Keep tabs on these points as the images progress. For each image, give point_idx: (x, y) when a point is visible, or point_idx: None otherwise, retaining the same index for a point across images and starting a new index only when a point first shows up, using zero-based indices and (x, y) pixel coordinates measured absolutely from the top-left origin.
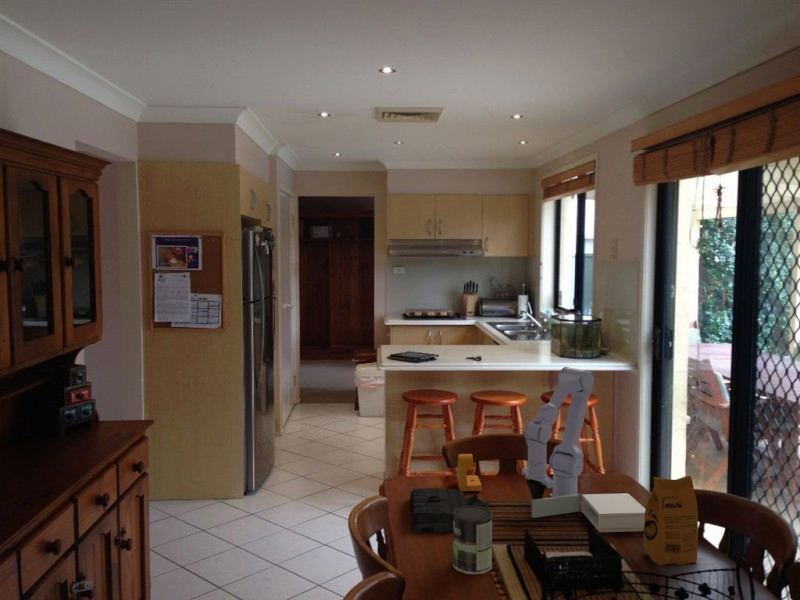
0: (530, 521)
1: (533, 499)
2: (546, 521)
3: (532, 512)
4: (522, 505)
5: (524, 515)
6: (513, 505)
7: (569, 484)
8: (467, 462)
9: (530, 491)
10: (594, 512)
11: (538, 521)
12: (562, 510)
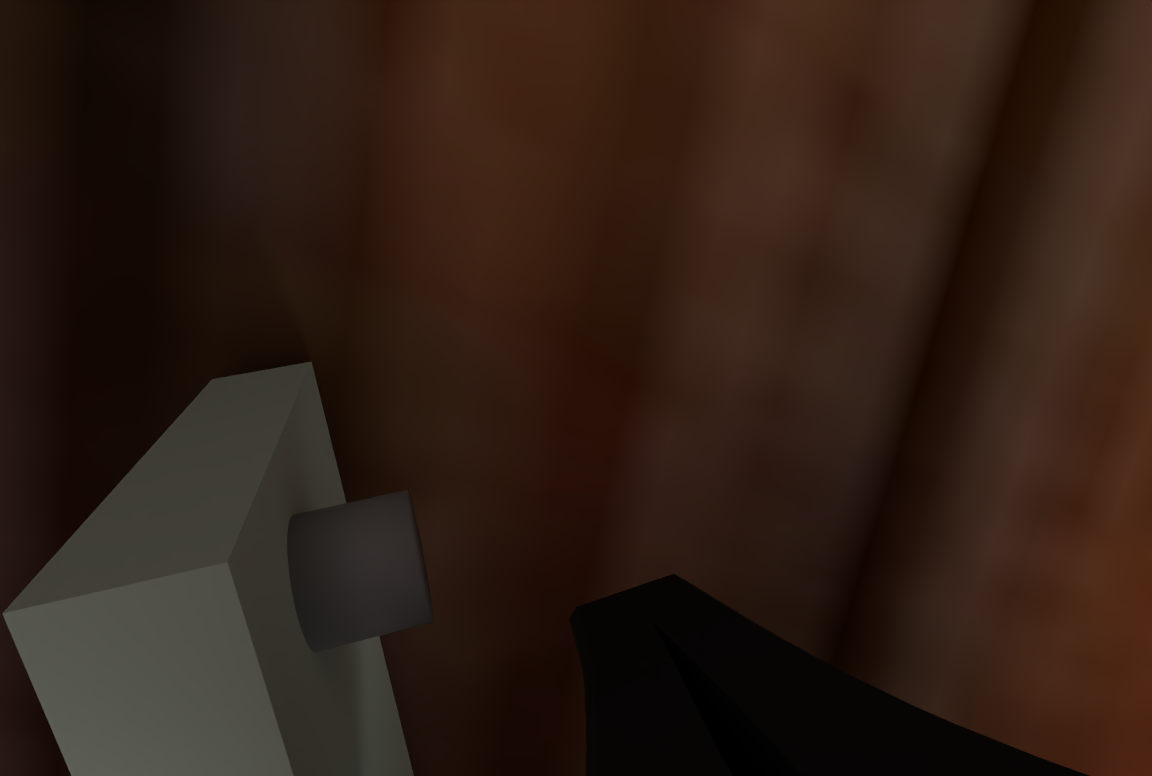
0: (49, 246)
1: (259, 649)
2: None
3: (248, 400)
4: (952, 370)
5: (464, 233)
6: (1007, 196)
7: None
8: None
9: (940, 729)
10: None
11: (43, 440)
12: None
